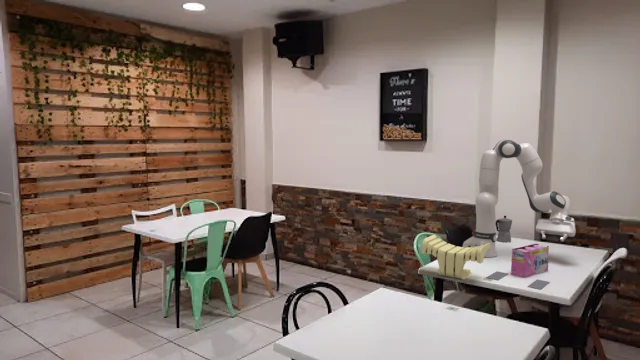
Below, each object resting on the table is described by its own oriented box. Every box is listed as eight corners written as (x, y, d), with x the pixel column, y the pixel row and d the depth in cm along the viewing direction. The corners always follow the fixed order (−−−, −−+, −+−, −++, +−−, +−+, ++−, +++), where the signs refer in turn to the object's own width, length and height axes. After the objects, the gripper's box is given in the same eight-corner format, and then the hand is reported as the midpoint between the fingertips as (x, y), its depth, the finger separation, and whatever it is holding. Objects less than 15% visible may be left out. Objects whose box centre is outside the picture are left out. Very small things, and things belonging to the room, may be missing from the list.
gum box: (535, 267, 247) (537, 243, 245) (549, 270, 240) (551, 246, 239) (510, 274, 233) (511, 248, 232) (524, 278, 227) (525, 251, 225)
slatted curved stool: (421, 273, 233) (422, 239, 231) (432, 266, 246) (433, 234, 244) (479, 284, 216) (481, 248, 214) (488, 276, 228) (490, 242, 227)
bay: (485, 277, 226) (485, 277, 226) (496, 271, 237) (496, 271, 237) (540, 289, 209) (540, 289, 209) (550, 282, 220) (550, 281, 220)
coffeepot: (505, 238, 317) (506, 214, 315) (516, 241, 309) (517, 216, 307) (489, 240, 310) (490, 215, 309) (500, 243, 302) (501, 217, 300)
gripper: (537, 214, 263) (531, 233, 257) (576, 219, 249) (571, 238, 243) (539, 221, 267) (533, 239, 260) (578, 225, 253) (573, 245, 247)
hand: (552, 239), depth 252 cm, fingers open, 8 cm apart
